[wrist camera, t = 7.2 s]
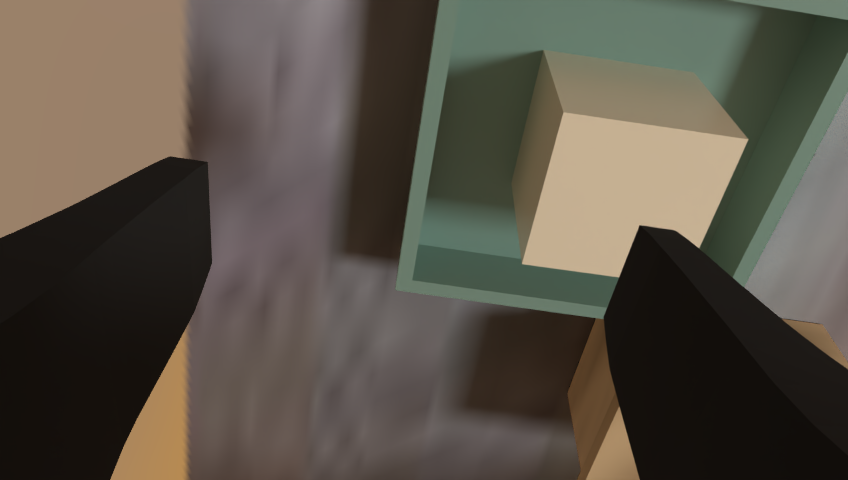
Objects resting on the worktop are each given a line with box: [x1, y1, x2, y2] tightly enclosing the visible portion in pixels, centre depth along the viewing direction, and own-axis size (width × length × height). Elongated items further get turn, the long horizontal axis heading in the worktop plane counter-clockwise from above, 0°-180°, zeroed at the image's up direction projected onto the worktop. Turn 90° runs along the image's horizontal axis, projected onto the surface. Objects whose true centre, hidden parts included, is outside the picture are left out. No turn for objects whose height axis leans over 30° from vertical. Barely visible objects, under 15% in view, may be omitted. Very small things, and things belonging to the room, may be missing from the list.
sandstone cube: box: [511, 50, 748, 277], centre depth 19 cm, size 4×4×4 cm
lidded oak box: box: [567, 318, 848, 480], centre depth 25 cm, size 9×6×5 cm, turn 82°
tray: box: [395, 0, 848, 319], centre depth 20 cm, size 11×11×2 cm
